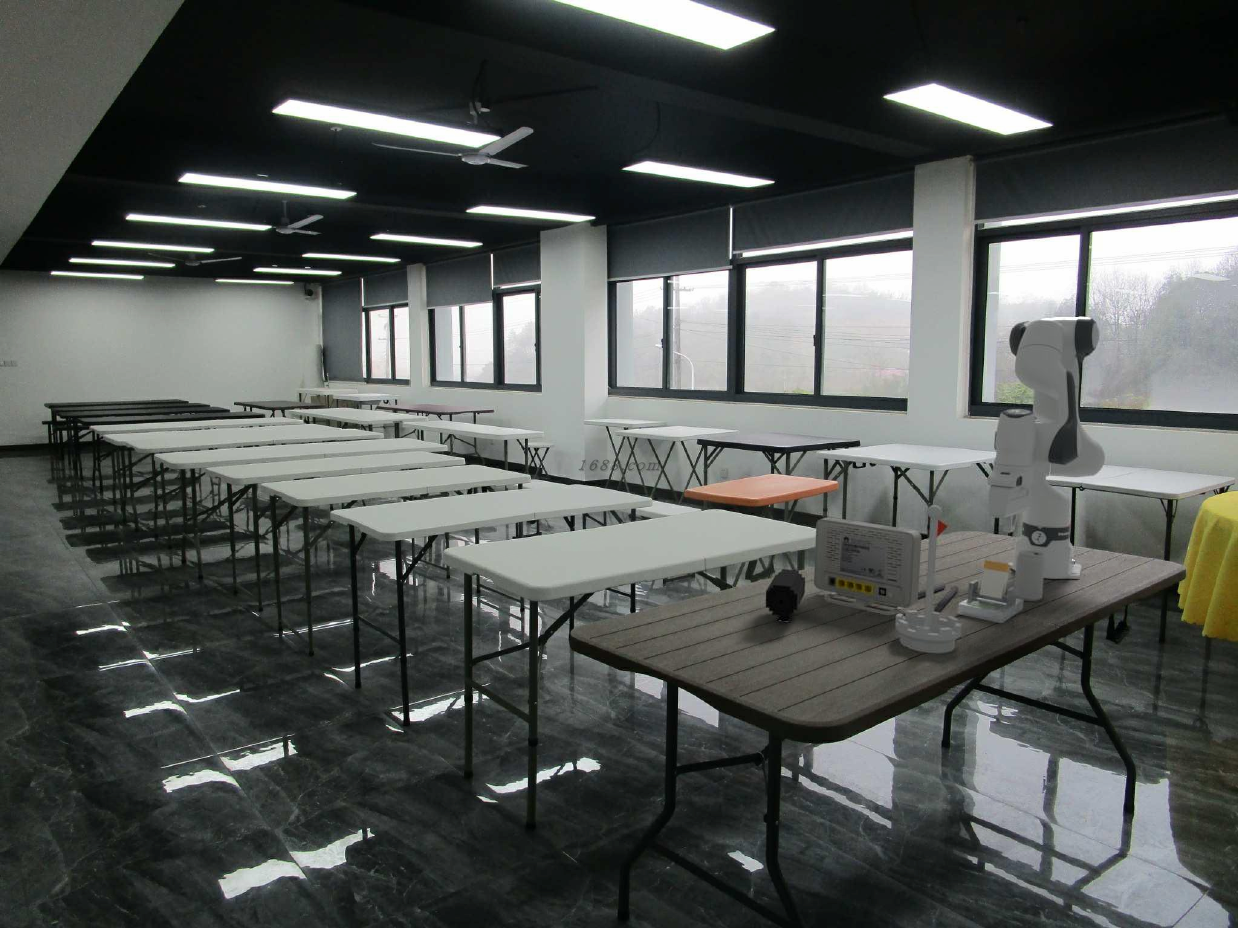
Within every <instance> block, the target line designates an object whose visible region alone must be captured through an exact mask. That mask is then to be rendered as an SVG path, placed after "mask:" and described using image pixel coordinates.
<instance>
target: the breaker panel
mask: <svg viewBox="0 0 1238 928" xmlns="http://www.w3.org/2000/svg"><path fill="white" fill-rule="evenodd" d="M1016 590H1017V588H1015V586H1011V587H1010V588H1008V589H1006V596H1007V600H1006V603H1002V602H997V601H992V600H987V599H982V598H977V597H975V593H976V591H979V580H977V579H976V580H975V579H973V580H972V581H970V582H968V591H967V592H968V593H967V598H966V599H965V600H962V601H961V602H959V603H958V608H957V614H958V615H962V616H967V617H971V618H975V619H979V620H984V621H990V622H994V623H998V624H1004V622H1007V620H1009V619H1011V618H1013V616H1015V615H1016V614H1018V613H1020V612H1021V611H1022V610H1024V602H1025V601H1024V599H1020V598H1017V597H1016Z"/></svg>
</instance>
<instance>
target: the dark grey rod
mask: <svg viewBox="0 0 1238 928" xmlns="http://www.w3.org/2000/svg"><path fill="white" fill-rule="evenodd" d="M958 590H959V587H958V586H957V585H954V586H952V587H951V588H950V590H949V591H948V592H947V593H946V594H945V595H944V596H943V598H941V600H939V602H938V603H937V605H935V607H933V612H938V613H941V612H940V611H941V610H943V609H944V607H945V606H946V604H947V603H949V601H950V600H951V599H952V598H953V596H954V595H955V594H956V593H957V592H958Z"/></svg>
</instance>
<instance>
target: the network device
mask: <svg viewBox="0 0 1238 928" xmlns="http://www.w3.org/2000/svg"><path fill="white" fill-rule="evenodd" d="M815 527H816V528H815V549H814V550H815V551H814V572H813V573H814V576H813V585H814V586H815V589H818V590H821V591H824V592H830V593H828V594H826V595H824V596H823V597H824V598H823V599H824V601H825V600H826V601H825V602H827V601H829V602H828V603H831V602H832V604H835V603H836V605H839V604H842V605H841V606H843V607H844V606H845V607H848V606H849V608H852V607H855V608H854V609H858V610H861V609H862V610H861V611H865V610H867V611H866V612H870V613H874V612H875V613H876V614H878V613H880V614H879V615H884V616H893V615H894V616H896V615H897V613H899V612H900V613H902V612H903V611H904V609H908V608H910V607H913V606H914V605H916V604H917V603H918V600H919V598H918V592H919V590H920V589H919V586H920V570H921V569H920V568H921V553H922V552H921V549H922V534H921V533H920V532H919V531H918V530H915V529H908V528H902V527H895V526H889V525H881V524H876V523H875V524H874V523H869V522H863V521H858V520H857V521H856V520H850V519H842V518H836V517H831V516H829V517H825V518H821V519H818V520H817V521H816V526H815ZM836 595H838V596H843V595H846V596H845V597H848V598H852V597H853V598H852V599H855V601H853V602H847V601H843V600H842V601H841V600H838V599H833V598H835V597H837V596H836ZM834 596H835V597H834ZM832 597H833V598H832ZM829 598H830V599H829ZM872 604H879V605H885V606H888V607H893V608H894V609H892V610H881V609H878V608H873V607H869V606H870V605H872ZM865 606H866V607H865Z"/></svg>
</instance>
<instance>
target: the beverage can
mask: <svg viewBox="0 0 1238 928" xmlns="http://www.w3.org/2000/svg"><path fill="white" fill-rule="evenodd" d="M1044 564H1045V558H1044V557H1043V553H1041V552H1037V551H1029V550H1022V551H1019V554H1018V555H1017V559H1016V571H1015V572H1014V573H1015V576H1014V587H1015V588H1017V590H1016V598H1020V599H1024V601H1023V602H1025V601H1026V602H1038V601H1040V600H1041V599H1042V598H1043V590H1044V589H1043V588H1044V579H1045V578H1044Z"/></svg>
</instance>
